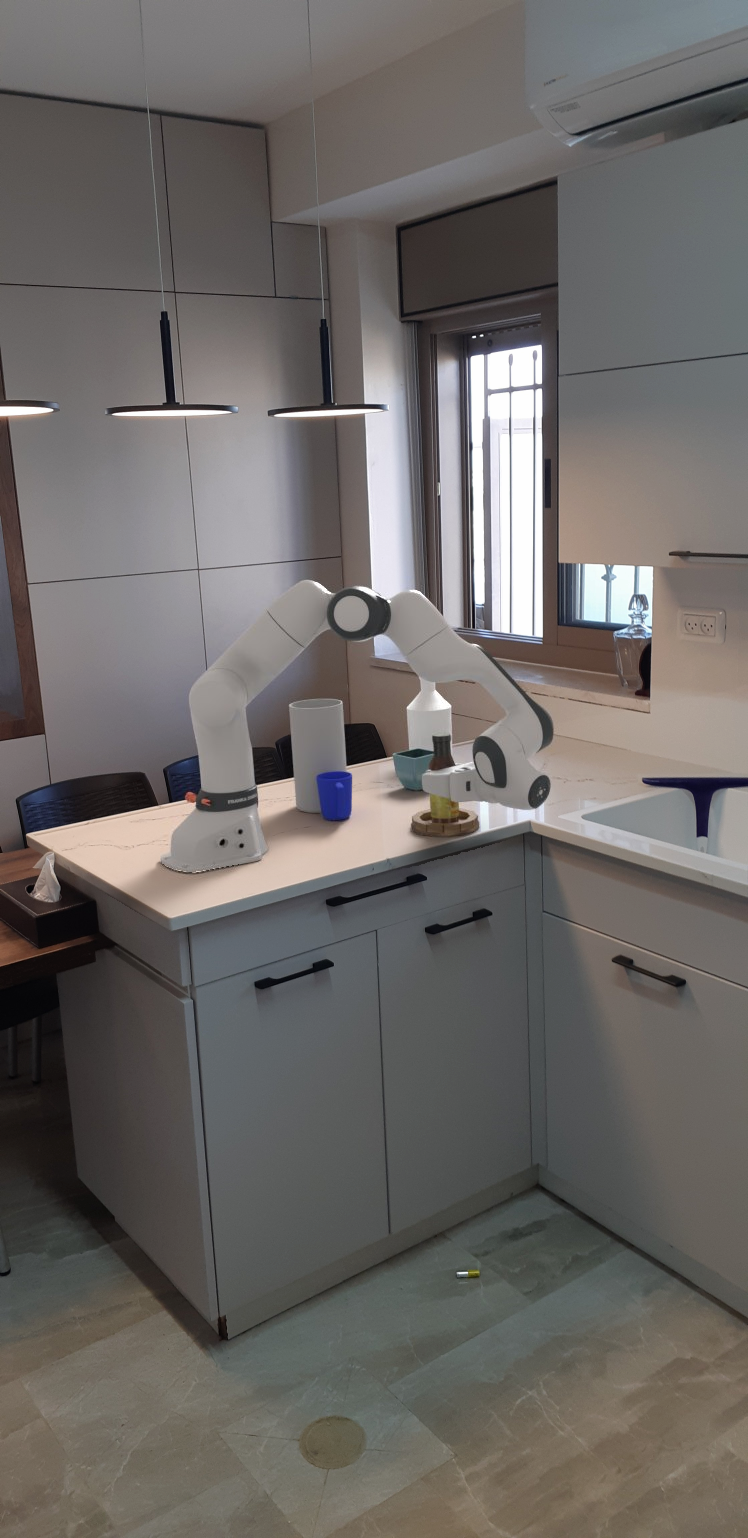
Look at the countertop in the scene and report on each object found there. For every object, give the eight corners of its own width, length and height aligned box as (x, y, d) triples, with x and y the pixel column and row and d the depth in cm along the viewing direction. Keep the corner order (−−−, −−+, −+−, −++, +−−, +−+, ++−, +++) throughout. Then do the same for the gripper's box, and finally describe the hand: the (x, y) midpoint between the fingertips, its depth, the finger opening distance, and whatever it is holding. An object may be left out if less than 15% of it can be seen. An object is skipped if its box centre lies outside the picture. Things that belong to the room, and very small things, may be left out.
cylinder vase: (359, 804, 276) (353, 701, 271) (322, 816, 267) (315, 710, 262) (322, 797, 285) (315, 697, 279) (285, 809, 276) (277, 705, 270)
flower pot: (392, 788, 290) (391, 753, 288) (419, 781, 295) (418, 747, 293) (415, 794, 283) (413, 758, 281) (442, 787, 288) (441, 752, 286)
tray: (442, 841, 244) (442, 830, 243) (397, 827, 255) (396, 817, 255) (493, 825, 253) (493, 815, 252) (447, 813, 264) (446, 803, 264)
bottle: (405, 763, 316) (401, 672, 311) (447, 759, 318) (444, 669, 312) (414, 772, 305) (410, 678, 299) (458, 768, 307) (454, 675, 301)
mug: (325, 828, 258) (322, 785, 255) (316, 814, 269) (313, 773, 267) (361, 824, 259) (358, 781, 257) (351, 811, 271) (348, 769, 269)
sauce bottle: (457, 827, 250) (454, 737, 246) (429, 827, 251) (424, 738, 247) (461, 819, 256) (457, 731, 252) (433, 819, 258) (429, 731, 253)
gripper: (519, 756, 247) (474, 747, 257) (448, 774, 234) (404, 764, 245) (520, 785, 248) (475, 775, 259) (449, 804, 236) (405, 793, 247)
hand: (440, 770), depth 252 cm, fingers closed on sauce bottle, 6 cm apart
